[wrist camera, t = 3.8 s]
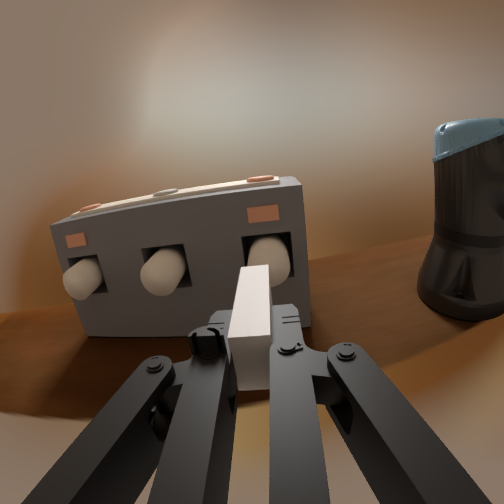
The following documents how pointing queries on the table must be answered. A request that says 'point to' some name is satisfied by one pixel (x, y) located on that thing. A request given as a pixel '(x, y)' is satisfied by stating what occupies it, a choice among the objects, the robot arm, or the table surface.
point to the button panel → (196, 249)
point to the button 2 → (270, 256)
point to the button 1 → (83, 277)
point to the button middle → (164, 270)
